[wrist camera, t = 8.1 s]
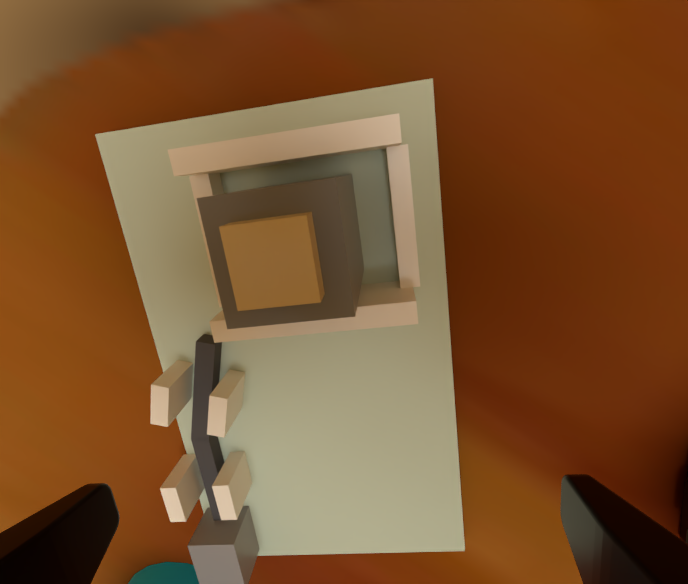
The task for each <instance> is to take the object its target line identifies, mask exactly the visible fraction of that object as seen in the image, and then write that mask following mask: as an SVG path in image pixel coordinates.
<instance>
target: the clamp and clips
mask: <svg viewBox="0 0 688 584" xmlns="http://www.w3.org/2000/svg"><path fill="white" fill-rule="evenodd" d="M192 378H193V363H191V362H186V361H181V360H177V361H176V362H175V363H174V364H172V365H171V366H170V367H169V368H168V369H167V370H166V371H165V372H164V373H163V374H162V375H161V376H160V377H159V378H158V379H157V380H156V381H154V382H153V383H152V384H151V422H150V424H155V425H160V426H165V427H168V426H169V425H170V424H171V422H172V421H173V420H174V419H175V418H176V416H177V415H178V414H179V413H180V412H181V410H182V409H183V408H184V407H185V405H186V404H187V403H188V402H189V401H190V399H191V398H192ZM244 381H245V372H240V371H235V370H230V369H229V370H228V372H227V373H226V374H225V376H224V377H223V378H222V380H221V381H220V382H219V384H218V385H217V386H216V388H215V389H214V390H213V392H212V393H211V394H210V396H209V410H208V425H207V435H212V436H218V437H223V438H225V436H226V434H227V432H228V431H229V429H230V427H231V426H232V424H233V422H234V420H235V419H236V417H237V415H238V414H239V412H240V410H241V409H242V402H243V392H244ZM251 485H252V479H251V475H250V471H249V467H248V463H247V458H246V454H245V451H239V452H230V453H229V455H228V457H227V459H226V461H225V462H224V464H223V466H222V468H221V470H220V472H219V474H218V476H217V477H216V479H215V481H214V483H213V485H212V489H213V492H214V496H215V500H216V503H217V507H218V510H219V514H220V518H221V520H213V516H212V512H211V509H210V507H208V508H207V509H206V511H205V513H204V515H203V517H202V519H201V521H200V523H199V525H198V527H197V528H196V530H195V532H194V534H193V536H192V538H191V540H190V542H189V544H188V549H189V552H190V555H191V558H192V562H193V565H194V568H195V571H196V575H197V578H198V581H199V584H248V583H249V580H250V577H251V574H252V571H253V568H254V564H255V561H256V558H257V555H258V552H259V544H258V540H257V536H256V532H255V528H254V524H253V520H252V516H251V512H250V508H249V506H243V504H244V502H245V499H246V497H247V495H248V492H249V490H250V487H251ZM204 488H205V487H204V484H203V480H202V477H201V473H200V469H199V466H198V462H197V459H196V455H195V454H186V455H183V456H182V457H181V459H180V460H179V462H178V463H177V465H176V466H175V467H174V469H173V470H172V472H171V473H170V475H169V476H168V478H167V479H166V480H165V482H164V483H163V485H162V486H161V488H160V490H161V494H162V497H163V500H164V503H165V506H166V509H167V512H168V516H169V519H170V522H186V521H187V519H188V517H189V515H190V513H191V512H192V510H193V508H194V506H195V504H196V503H197V501H198V499H199V497H200V495H201V494H202V492H203V490H204Z"/></svg>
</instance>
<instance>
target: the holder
mask: <svg viewBox="0 0 688 584" xmlns="http://www.w3.org/2000/svg"><path fill="white" fill-rule="evenodd" d="M401 143H402V138H401V127H400V116H399V113H398V114H391V115H385V116H378V117H372V118H366V119H359V120H353V121H347V122H340V123H334V124H328V125H321V126H315V127H308V128H302V129H296V130H289V131H283V132H277V133H270V134H264V135H258V136H251V137H245V138H239V139H232V140H226V141H219V142H213V143H207V144H200V145H194V146H188V147H181V148H175V149H169V150H168V154H169V158H170V162H171V166H172V170H173V175H174V176H189V179H190V183H191V187H192V192H193V196H194V200H195V205H196V209H197V213H198V217H199V222H200V226H201V230H202V235H203V239H204V243H205V247H206V252H207V256H208V260H209V265H210V269H211V273H212V277H213V282H214V286H215V290H216V295H217V299H218V303H219V307H222V305H221V300H220V296H219V292H218V288H217V283H216V279H215V275H214V271H213V266H212V262H211V258H210V254H209V249H208V245H207V241H206V237H205V232H204V228H203V224H202V220H201V215H200V211H199V207H198V202H197V198H201V197H207V196H212V195H218V194H224V191H223V186H222V182H221V177H220V173H223V172H230V171H237V170H243V169H250V168H257V167H264V166H271V165H277V164H284V163H291V162H298V161H305V160H311V159H318V158H325V157H332V156H339V155H345V154H352V153H359V152H366V151H373V150H380V149H386V152H387V162H388V172H389V182H390V192H391V202H392V211H393V221H394V231H395V241H396V251H397V261H398V270H399V280H400V281H392V282H383V283H373V284H364V285H361V289H360V294H359V299H358V305H357V310H356V315H355V317H346V318H336V319H326V320H316V321H306V322H296V323H286V324H276V325H266V326H256V327H246V328H236V329H227V326H226V322H225V317H224V313H223V310H222V311H221V312H219V313H218V314H217V315H216V316H215V317H214V318H213V319H212V320H211V321H209V323H210V327H211V331H212V335H213V339H214V343H218V342H229V341H239V340H250V339H261V338H272V337H283V336H294V335H304V334H315V333H326V332H337V331H348V330H359V329H369V328H380V327H391V326H402V325H413V324H418V314H417V303H416V298H415V294H414V289H413V287H420V276H419V264H418V253H417V242H416V230H415V219H414V207H413V196H412V184H411V173H410V161H409V150H408V144H405V145H400V144H401ZM192 175H195V176H192Z"/></svg>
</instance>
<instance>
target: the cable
mask: <svg viewBox="0 0 688 584" xmlns="http://www.w3.org/2000/svg"><path fill="white" fill-rule="evenodd" d="M221 350H222V342H218V343H214V339H213V335H209V334H203V335H202V336H201V337H200V338H199V339H198V340H197V341H196V347H195V367H194V387H193V407H192V427H191V441H192V444H193V448H194V452H195V455H196V459H197V462H198V466H199V469H200V473H201V477H202V480H203V484H204V487H205V491H206V495H207V498H208V502H209V505H210V509H211V512H212V516H213V520H221V518H220V514H219V510H218V507H217V503H216V500H215V496H214V492H213V489H212V485H213V483H214V481H215V479H216V477H217V476H218V474H219V472H220V470H221V468H222V466H223V464H224V459H223V455H222V451H221V447H220V443H219V439H218V436H212V435H207V425H208V410H209V396H210V394H211V393H212V392H213V390H214V389H215V388H216V386H217V385H218V384H219V378H220V364H221Z"/></svg>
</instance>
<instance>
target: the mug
mask: <svg viewBox="0 0 688 584" xmlns="http://www.w3.org/2000/svg"><path fill="white" fill-rule="evenodd" d="M128 584H199V581H198V578H197V575H196V571H195V568H194V565H191V564H188V563H176V562H164V563H159V564H154V565H149V566H147V567H146V568H144V569H142V570H141V571H139V572H137V573H135V575H134V576H133V577H132V579H131V580H130V581H129V583H128Z"/></svg>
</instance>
